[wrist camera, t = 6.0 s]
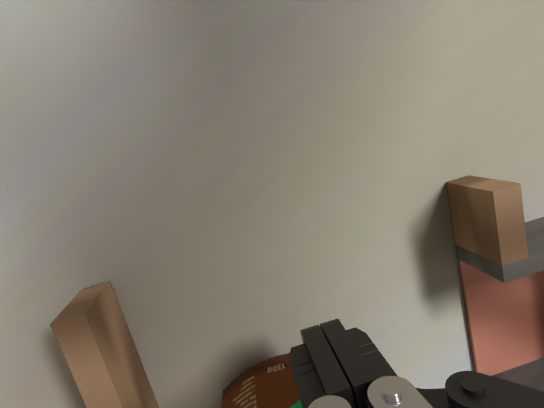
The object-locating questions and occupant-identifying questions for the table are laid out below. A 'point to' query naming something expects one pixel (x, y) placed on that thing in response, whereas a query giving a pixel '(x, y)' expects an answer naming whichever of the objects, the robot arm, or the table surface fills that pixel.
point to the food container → (264, 386)
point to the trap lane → (475, 282)
